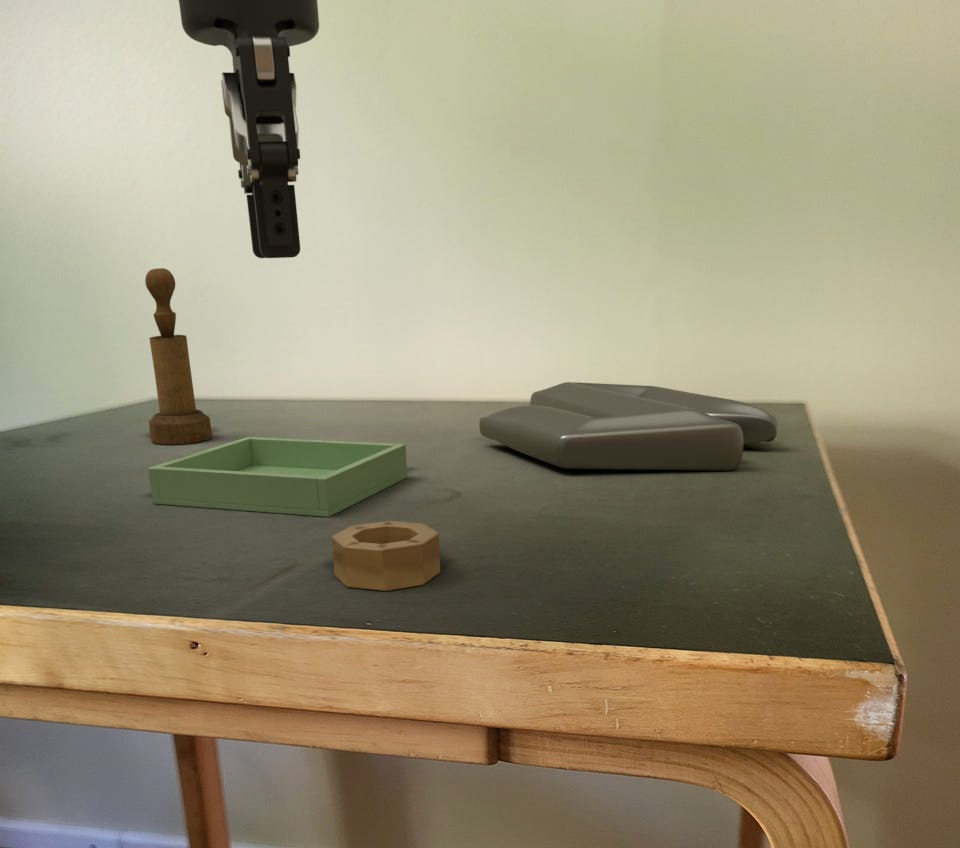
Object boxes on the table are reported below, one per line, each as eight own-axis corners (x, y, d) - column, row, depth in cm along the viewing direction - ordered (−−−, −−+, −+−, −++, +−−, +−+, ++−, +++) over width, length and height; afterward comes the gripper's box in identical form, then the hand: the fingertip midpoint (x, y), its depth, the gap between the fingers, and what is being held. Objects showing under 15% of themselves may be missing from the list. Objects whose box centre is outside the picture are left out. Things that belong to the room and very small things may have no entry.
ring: (320, 584, 60) (316, 544, 59) (366, 556, 65) (363, 518, 64) (412, 594, 57) (409, 552, 57) (451, 564, 63) (450, 525, 62)
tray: (152, 503, 81) (147, 468, 79) (250, 468, 93) (247, 436, 92) (329, 517, 75) (325, 478, 74) (407, 477, 88) (405, 444, 86)
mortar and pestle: (170, 447, 105) (145, 269, 98) (140, 441, 109) (113, 269, 102) (223, 438, 109) (202, 267, 102) (192, 432, 113) (170, 267, 106)
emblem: (426, 405, 92) (567, 372, 114) (429, 461, 94) (567, 418, 116) (707, 426, 78) (808, 383, 99) (703, 491, 80) (803, 436, 101)
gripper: (173, -30, 58) (211, 260, 64) (165, -113, 45) (213, 260, 51) (299, -26, 60) (324, 256, 66) (326, -105, 47) (354, 255, 53)
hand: (275, 257), depth 58 cm, fingers open, 8 cm apart
